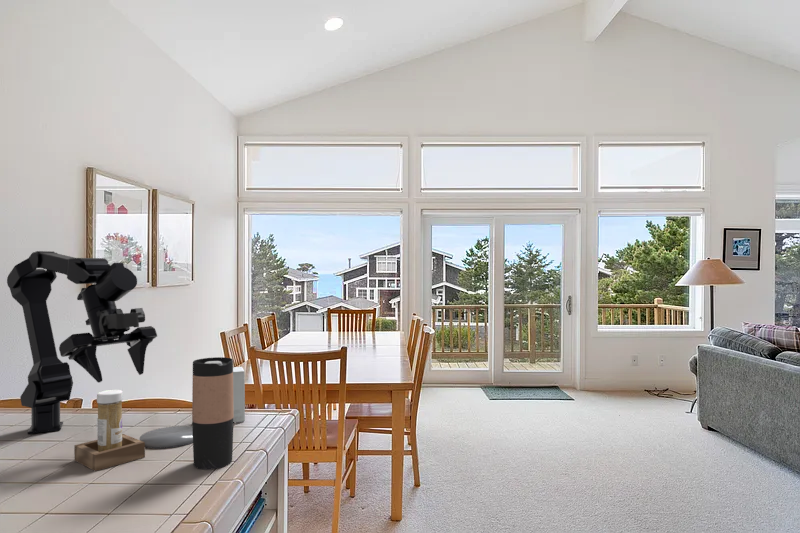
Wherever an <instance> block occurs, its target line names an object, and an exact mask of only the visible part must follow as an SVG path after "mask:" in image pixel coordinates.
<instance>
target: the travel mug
mask: <svg viewBox="0 0 800 533" xmlns="http://www.w3.org/2000/svg"><path fill="white" fill-rule="evenodd" d="M233 367H234V359H233V358H231V357H225V356H224V357H221V356H220V357H205V358H199V359H195V360H193V362H192V394H191V395H192V399H191V400H192V402H191V403H192V407H191V408H192V410H191V413H192V414H191V417H192V418H191V419H192V420H191V421H192V422H191V424H192V425H191V426H192V430H193V443H192V452H193V454H192V455H193V456H192V457H193V466H194V468H196V469H199V470H216V469H220V467H221V468H224V467H226V465H227V466H228V464H229V465H230V464H232V462H233V453H234V452H233V446H234V423H233V421H234V418H233V417H234V407H233ZM223 466H224V467H223Z"/></svg>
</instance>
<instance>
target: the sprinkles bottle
mask: <svg viewBox="0 0 800 533" xmlns="http://www.w3.org/2000/svg"><path fill="white" fill-rule="evenodd" d="M123 395H124V394H123V390H121V389H109V390H102V391H99V392H97V394H96V403H97V418H96V419H97V420H96V421H97V440H98V452H102V451H105V450H109V449H113V448H117V447H121V446H122V434H123V413H122V412H123V411H122V410H123V408H122V407H123V406H122V403H123V400H124V398H123V397H124V396H123Z"/></svg>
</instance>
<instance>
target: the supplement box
mask: <svg viewBox="0 0 800 533" xmlns="http://www.w3.org/2000/svg"><path fill="white" fill-rule="evenodd" d="M245 376H246V375H245V369H244V368H243V366H235V367H234V366H233V407H234V417H233V418H234V421H233V422H236V423H243V422H245V420H246V419H245V418H246V416H245V415H246V412H245V411H246V409H245V408H246V405H245V404H246V403H245V402H246V398H245V396H246V394H245V393H246V392H245V391H246V390H245V386H246V384H245V383H246V382H245V381H246V380H245V378H246V377H245Z"/></svg>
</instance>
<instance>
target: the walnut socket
mask: <svg viewBox="0 0 800 533" xmlns="http://www.w3.org/2000/svg"><path fill="white" fill-rule="evenodd" d="M73 449H74V451H73V452H74V454H73V455H74V457H73V458H74V460H73V461H75V462H77V463H78V464H80V465H83V466H85V467H87V468H89V469H90V470H93V471H95V472H97V471H101V470H105V469H108V468H111V467H116V466H120V465H122V464H126V463H129V462H133V461H137V460H141V459H143V458H146V447H145V442H143V441H140V439H138V438H135V437H132V436H129V435H127V434H125V433H122V446H121V447H117V448H113V449H109V450H105V451H102V452H98V439H95V440H91V441H86V442H82V443H78V444H74V448H73Z"/></svg>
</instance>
